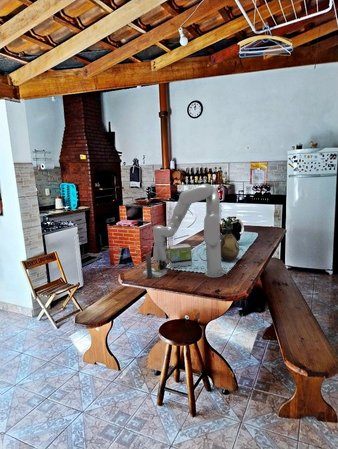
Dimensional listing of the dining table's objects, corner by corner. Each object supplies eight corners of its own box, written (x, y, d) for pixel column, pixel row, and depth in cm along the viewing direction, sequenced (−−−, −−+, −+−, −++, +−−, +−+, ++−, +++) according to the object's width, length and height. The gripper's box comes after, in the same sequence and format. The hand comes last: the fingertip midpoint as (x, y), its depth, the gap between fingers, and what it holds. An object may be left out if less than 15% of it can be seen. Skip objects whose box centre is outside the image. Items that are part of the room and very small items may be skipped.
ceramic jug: (239, 263, 221) (238, 222, 215) (218, 263, 224) (216, 223, 218) (239, 255, 237) (238, 217, 231) (219, 256, 240) (217, 218, 234)
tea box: (172, 268, 220) (170, 248, 217) (169, 264, 230) (168, 245, 227) (192, 265, 223) (191, 246, 220) (188, 261, 233) (187, 242, 230)
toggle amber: (160, 269, 213) (160, 264, 212) (158, 271, 210) (157, 265, 210) (157, 269, 214) (156, 263, 214) (154, 270, 212) (154, 265, 211)
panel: (167, 273, 212) (166, 268, 211) (159, 277, 204) (159, 273, 204) (151, 270, 220) (150, 266, 219) (143, 274, 212) (142, 270, 211)
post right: (167, 268, 220) (166, 247, 217) (165, 270, 218) (163, 248, 214) (164, 268, 222) (162, 247, 219) (161, 269, 219) (159, 248, 216)
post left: (153, 277, 206) (151, 254, 203) (150, 278, 203) (148, 255, 200) (149, 276, 208) (147, 253, 205) (146, 278, 205) (144, 255, 202)
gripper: (172, 243, 205) (174, 269, 209) (154, 241, 214) (156, 266, 217) (165, 246, 199) (167, 272, 203) (147, 244, 207) (149, 269, 211)
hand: (161, 269), depth 210 cm, fingers closed
